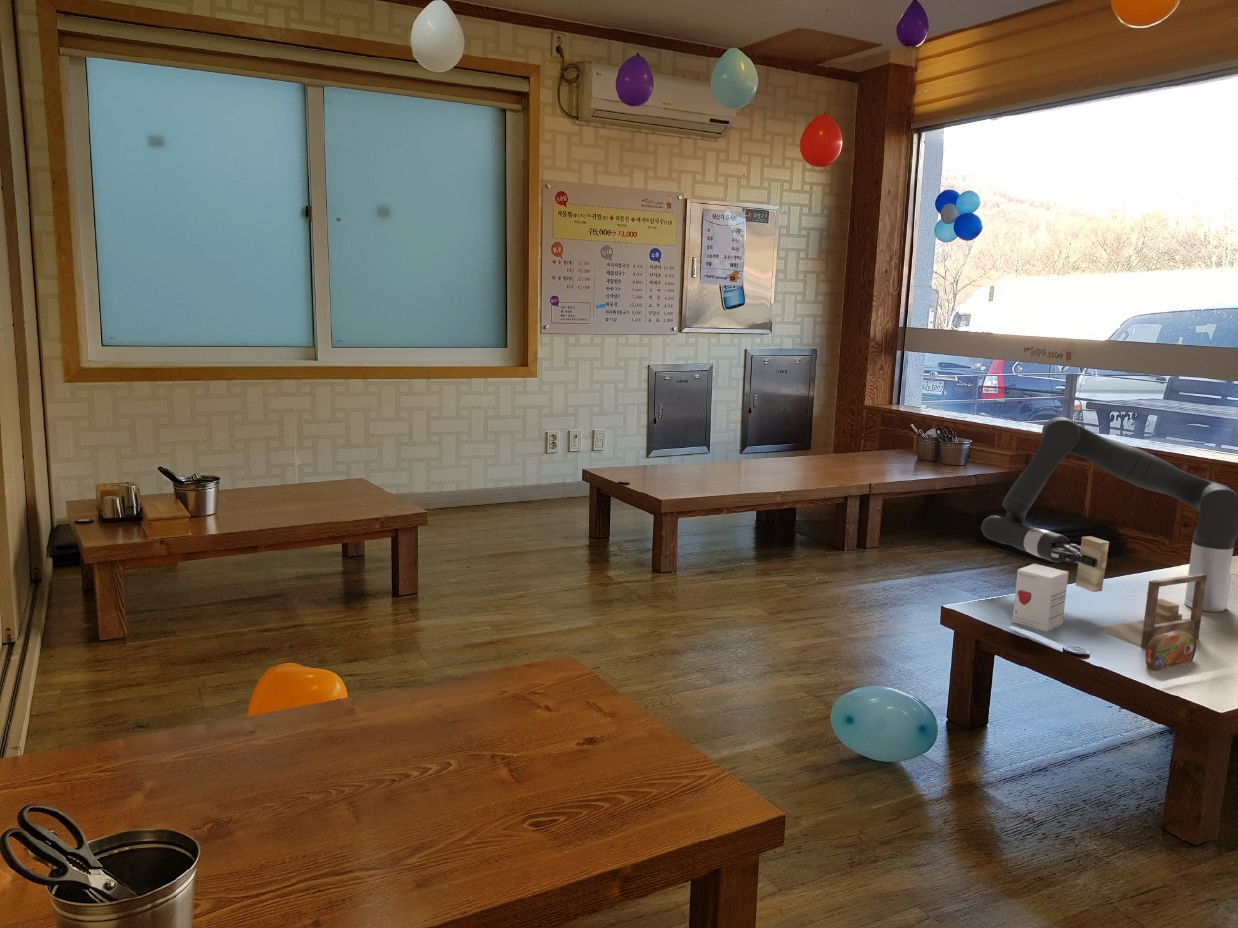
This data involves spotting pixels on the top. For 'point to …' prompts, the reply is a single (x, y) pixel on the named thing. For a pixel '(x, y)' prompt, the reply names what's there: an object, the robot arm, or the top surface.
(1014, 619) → the supplement box
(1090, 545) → the pale wooden block
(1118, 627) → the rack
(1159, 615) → the offcut mid
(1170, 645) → the tin
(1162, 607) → the offcut top
